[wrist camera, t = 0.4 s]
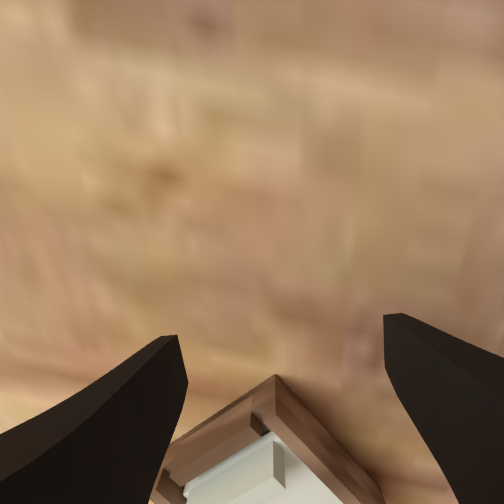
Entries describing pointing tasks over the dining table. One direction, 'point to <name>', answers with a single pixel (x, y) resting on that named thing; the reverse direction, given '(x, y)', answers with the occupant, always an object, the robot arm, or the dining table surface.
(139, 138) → the dining table surface
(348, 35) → the dining table surface
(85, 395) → the robot arm
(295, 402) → the groove box
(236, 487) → the cover plate
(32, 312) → the dining table surface
